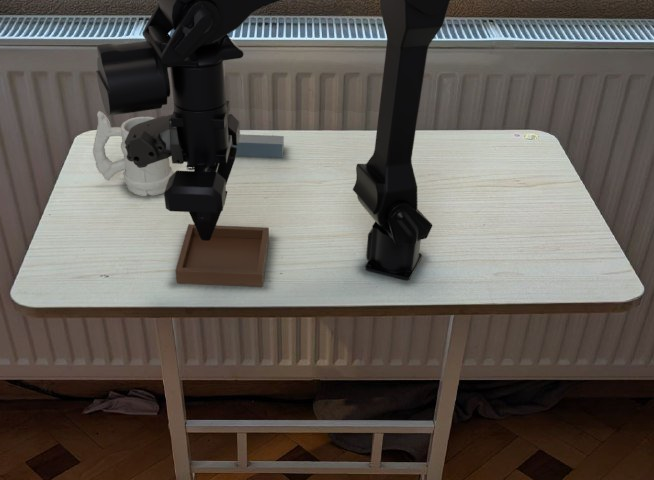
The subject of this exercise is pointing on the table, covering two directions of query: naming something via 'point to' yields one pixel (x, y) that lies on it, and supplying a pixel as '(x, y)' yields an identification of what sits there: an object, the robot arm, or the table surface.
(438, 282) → the table surface
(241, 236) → the tray
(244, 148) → the bar
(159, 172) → the mug
